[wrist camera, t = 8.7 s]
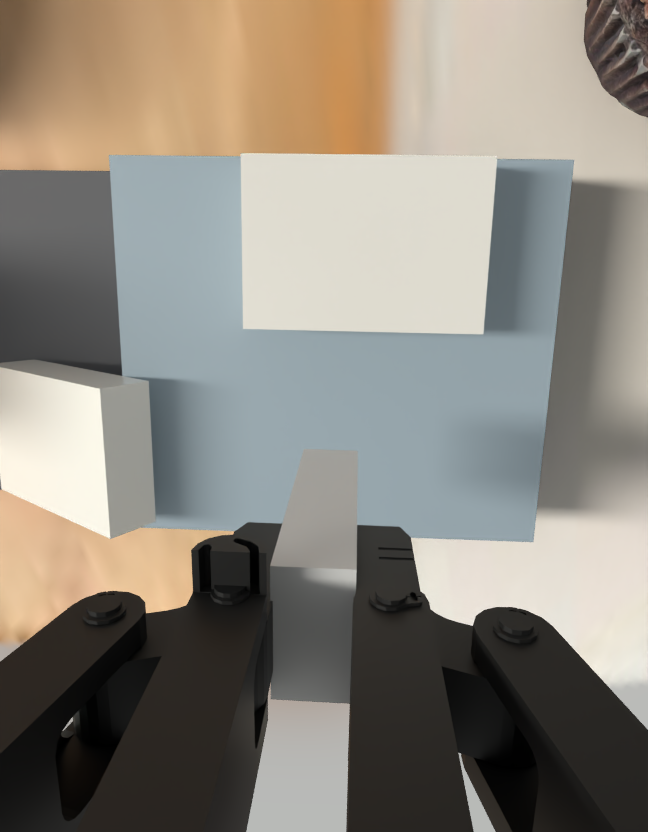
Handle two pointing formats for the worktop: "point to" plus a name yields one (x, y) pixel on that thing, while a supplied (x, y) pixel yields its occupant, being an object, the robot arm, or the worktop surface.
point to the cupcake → (620, 49)
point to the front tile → (366, 242)
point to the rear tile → (78, 444)
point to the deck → (334, 366)
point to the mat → (58, 270)
